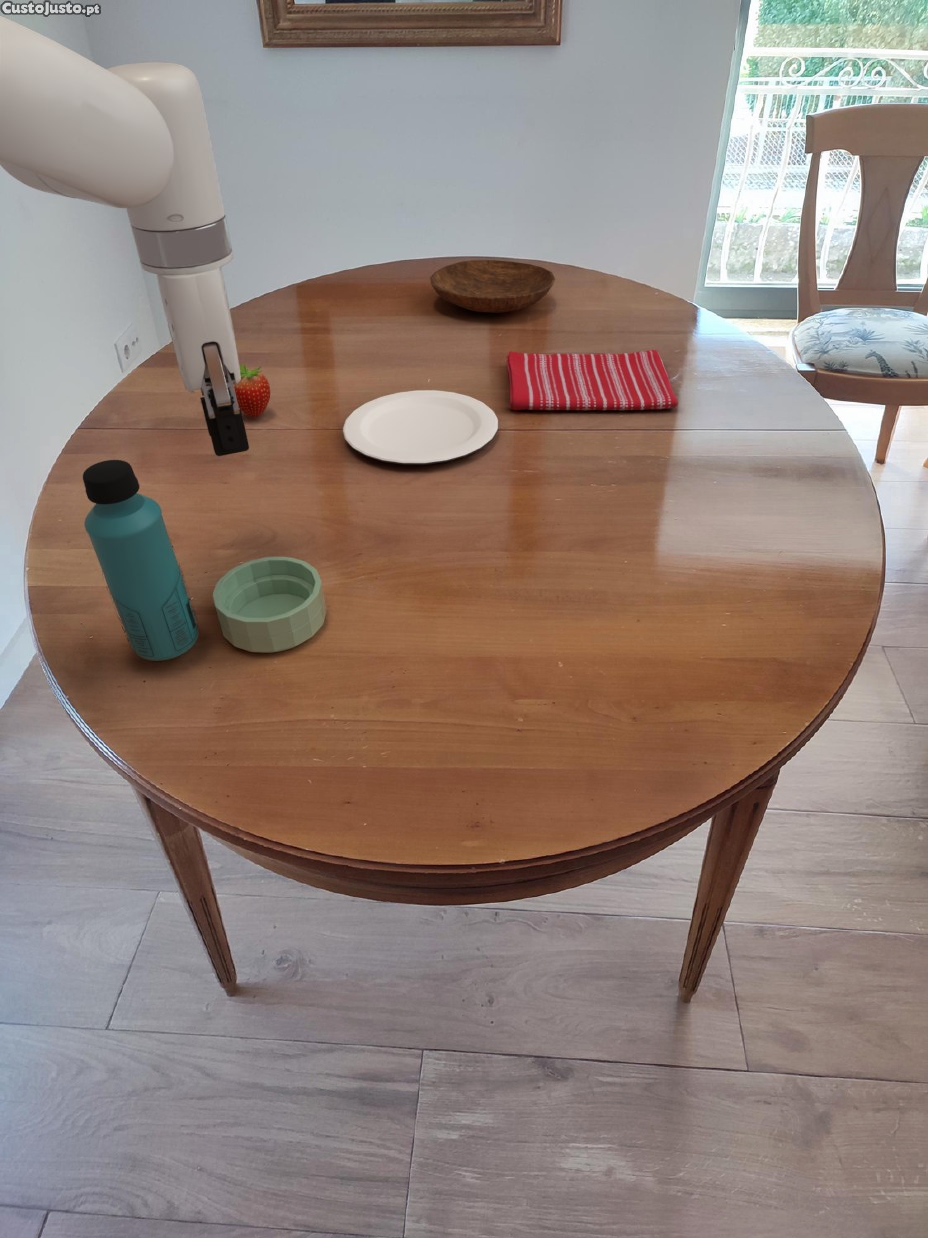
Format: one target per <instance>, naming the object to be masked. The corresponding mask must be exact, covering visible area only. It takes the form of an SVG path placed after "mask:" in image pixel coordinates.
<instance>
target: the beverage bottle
mask: <svg viewBox="0 0 928 1238" xmlns="http://www.w3.org/2000/svg"><path fill="white" fill-rule="evenodd" d="M82 481H83V485H84V489H85V494H86V497H87V500H89V502H91V503H93V504H94V505H93V506H92V508H91V509H90V510H89V511H88V513H87V515H86V517H85V519H84V522H83V523H84V525H83V526H84V529H85V531H86V533H87V534H88V537H89V540H90V542H91V545H92V547H93V550H94V552H95V553H94V554H95V556H96V558H97V561H98V563H99V565H100V568H101V571H102V576H103V578H102V579H103V581H104V579H105V582H106V585H107V586H106V585H105V584H104V585H105V587H106V589H107V591H108V595H109V597H110V599H112V602H113V606H114V607H115V608H116V609H115V608H114V610H115V611H116V612H117V614H116V616H117V619H118V620H119V622H121V624H120V626H121V628H122V631H123V633H124V636H125V637H126V639H127V642H128V644H129V647H131V649H132V651H133V652H134V653H135V654H137V656H138V657H140V658H142V659H144V660H148V661H153V662H154V661H155V662H157V661H158V662H159V661H161V662H162V661H167V660H171V659H174V658H177V657H179V656H181V655H183V654H185V653H186V652H188V651H189V650H190V649H192V647H193V646H194V645H195V643H196V642H197V641H198V637H199V632H200V630H199V625H198V617H197V615H196V611H195V609H194V607H193V606H192V602H191V601H192V598H191V597H192V596H191V594H190V592H189V590H188V585H187V582H186V581H185V576H184V574H183V573H182V570H183V569H182V567H180V565H181V563H180V562H179V561H178V559H177V552H176V550H175V548H174V546H173V544H172V542H171V538H170V536H169V533H168V529H167V527H166V524H165V521H164V517H163V512H162V511H163V510H162V508H161V506H160V504H159V503H158V502H157V501H156V500H155V499H153V498H151V497H149V496H146V495H143V494H141V493H138V492H139V490H140V482H139V479H138V478H137V476H136V474H135V472H134V469H133V467H132V465H131V464H130V463H129V462H128V461H126V460H123V459H122V460H121V459H108V460H103V461H98V462H96V463H93V464H92V465H90V466H89V467H87V468H85V470H84V471H83V473H82ZM178 562H179V563H178Z"/></svg>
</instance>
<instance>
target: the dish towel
mask: <svg viewBox="0 0 928 1238" xmlns="http://www.w3.org/2000/svg"><path fill="white" fill-rule="evenodd" d="M506 369H507V372H508V375H509V376H508V377H509V378H508V379H509V389H510V391H509V409H510V410H513V411H522V410H523V411H524V410H529V411H596V410H597V411H633V410H634V411H636V410H637V411H644V410H665V409H674V408H677V406H678V405H679V400H678V399H677V397H676V395H675V392H674V389H673V387H672V384H671V381H670V378H669V376H668V373H667V370H666V368H665V366H664V362H663V360H662V357H661V355H660V353H659V352H658V350H657V349H648V350H641V351H634V352H632V353H628V352H624V353H597V354H594V353H589V354H587V353H581V354H579V353H553V354H544V353H526V352H523V353H521V352H518V351H513V350H510V351H508V355H507V356H506Z"/></svg>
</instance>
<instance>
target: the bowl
mask: <svg viewBox="0 0 928 1238" xmlns="http://www.w3.org/2000/svg"><path fill="white" fill-rule="evenodd" d="M429 281H430V285H431V286H432V288H433V290H434V291H435V293H437V294H438V295H439V296H440V297H441V298H442V299H443V300H444V301H446V302H448V303H450V304H452V305H455V306H458V307H459V308H462V309H465V310H469V311H472V312H476V313H489V314H491V313H492V314H501V313H509V312H510V313H511V312H514V311H519V310H521V309H525V308H527V307H529V306H532V305H535V304H536V303H538V302H539V301H540V300H541V299H543V298H544V297H545V296H546V295H547V294H548V293H549V292H550V290H551V288H552V287H553V285H554V283H555V281H556V277H555V275H554V274H553V272H552V271H551V270H549V269H546V268H545V267H543V266H538V265H535V264H532V263H524V262H518V261H507V260H497V259H496V260H495V259H480V260H479V259H473V260H464V261H460V262H455V263H451V264H449V265H445V266H443V267H442V268H440V269H438V270H435V272H434V273H433V274H432V275H431V276H430V277H429Z"/></svg>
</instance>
